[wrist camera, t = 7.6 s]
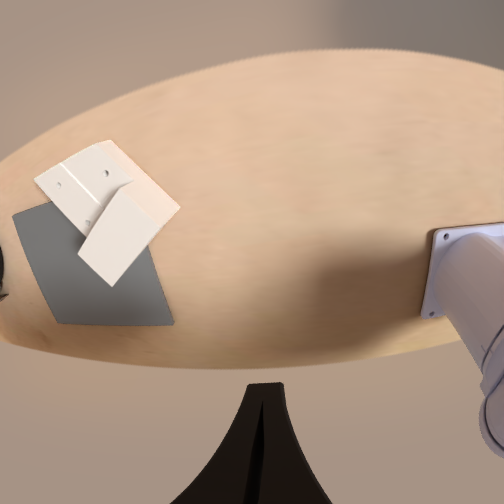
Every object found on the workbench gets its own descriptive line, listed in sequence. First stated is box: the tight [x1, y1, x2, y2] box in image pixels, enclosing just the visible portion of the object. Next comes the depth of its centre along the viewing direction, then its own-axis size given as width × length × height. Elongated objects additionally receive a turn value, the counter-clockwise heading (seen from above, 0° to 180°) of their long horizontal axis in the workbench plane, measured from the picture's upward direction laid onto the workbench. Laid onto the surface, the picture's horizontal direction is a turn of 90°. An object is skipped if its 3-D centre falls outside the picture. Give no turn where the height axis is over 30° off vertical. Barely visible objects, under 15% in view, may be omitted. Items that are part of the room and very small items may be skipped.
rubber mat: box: [12, 201, 174, 326], centre depth 21 cm, size 14×12×1 cm
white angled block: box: [33, 140, 181, 287], centre depth 17 cm, size 4×10×9 cm
